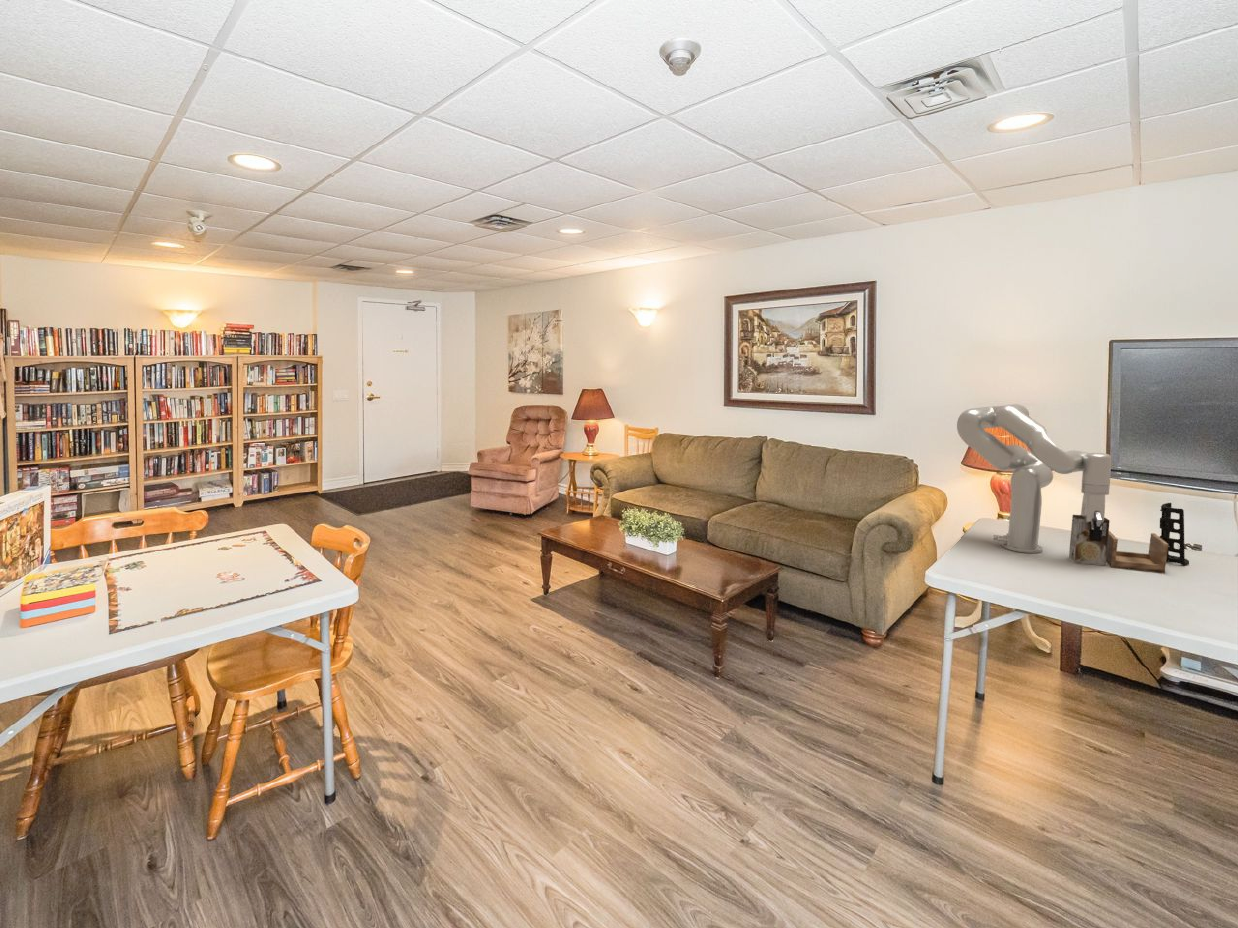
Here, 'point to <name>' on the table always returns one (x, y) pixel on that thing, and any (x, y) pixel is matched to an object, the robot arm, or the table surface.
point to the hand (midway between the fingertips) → (1091, 537)
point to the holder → (1168, 527)
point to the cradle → (1138, 556)
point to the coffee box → (1087, 542)
